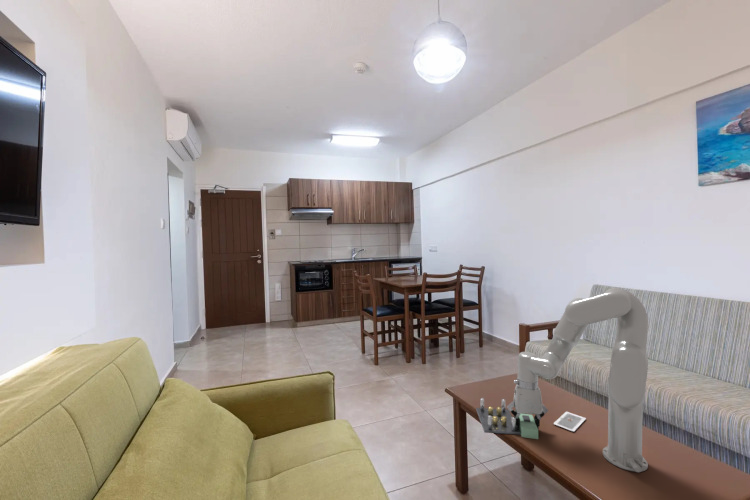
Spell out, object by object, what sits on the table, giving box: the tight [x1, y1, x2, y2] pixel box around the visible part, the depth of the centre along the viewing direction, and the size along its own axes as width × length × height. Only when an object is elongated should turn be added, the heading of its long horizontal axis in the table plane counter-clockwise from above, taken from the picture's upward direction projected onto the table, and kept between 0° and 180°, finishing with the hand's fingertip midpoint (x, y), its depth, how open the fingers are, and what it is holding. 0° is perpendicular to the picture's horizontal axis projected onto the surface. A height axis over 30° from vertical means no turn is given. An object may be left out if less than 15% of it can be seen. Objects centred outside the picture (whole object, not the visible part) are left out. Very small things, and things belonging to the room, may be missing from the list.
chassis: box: [476, 397, 521, 436], centre depth 141 cm, size 18×14×6 cm
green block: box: [519, 413, 539, 440], centre depth 135 cm, size 12×6×4 cm, turn 165°
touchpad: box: [553, 411, 587, 432], centre depth 140 cm, size 8×15×2 cm, turn 131°
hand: (526, 426), depth 135 cm, fingers closed on green block, 6 cm apart
